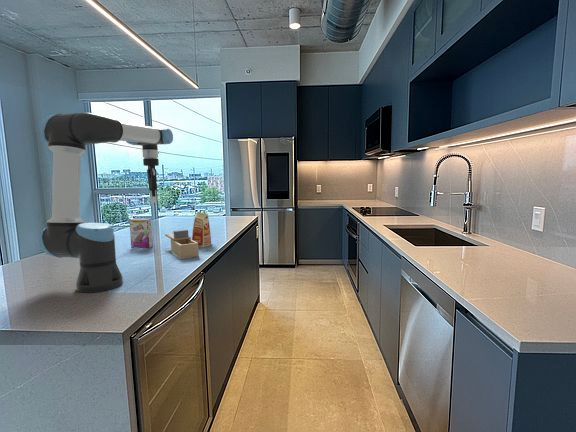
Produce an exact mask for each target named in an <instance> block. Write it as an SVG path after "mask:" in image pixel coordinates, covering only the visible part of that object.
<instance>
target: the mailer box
mask: <svg viewBox="0 0 576 432" xmlns="http://www.w3.org/2000/svg"><path fill="white" fill-rule="evenodd" d="M170 251H171V253H172V254H173V255H174V256H175V257H177V258H179V259H180V260H185V259H193V258H197V257H198V258H199V256H200V255H199V254H200V253H199V247H198V243H197V242H195V241H193V240H192V238H191V239H184V240H176V241H173V240H172V239H170Z"/></svg>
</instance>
